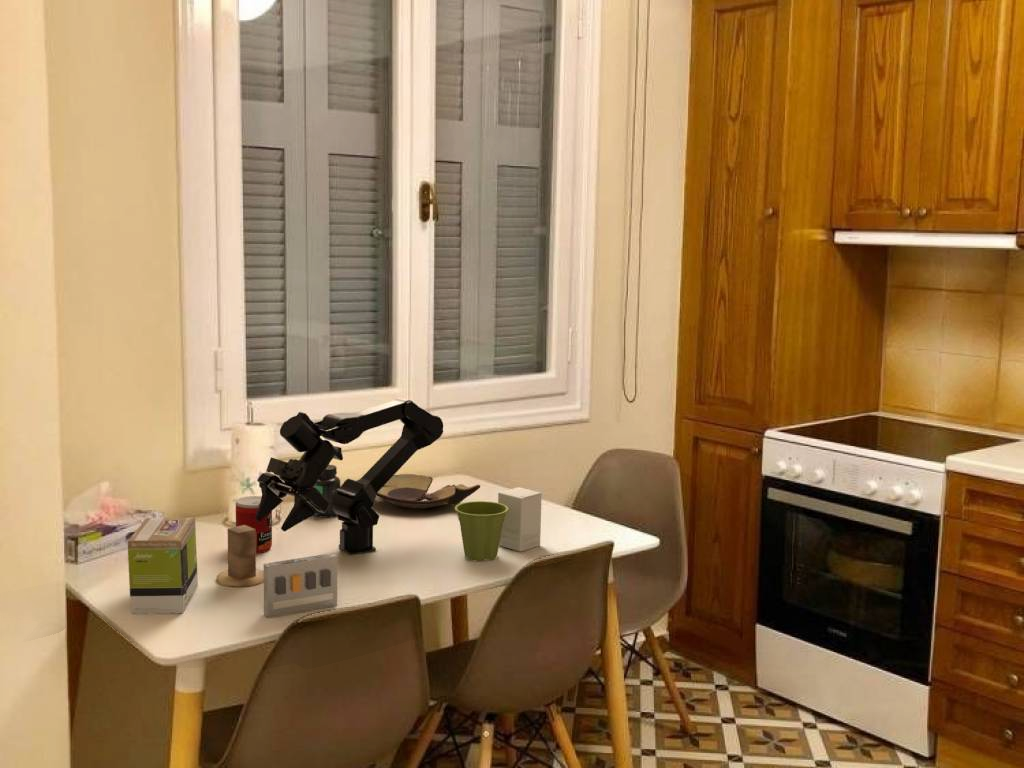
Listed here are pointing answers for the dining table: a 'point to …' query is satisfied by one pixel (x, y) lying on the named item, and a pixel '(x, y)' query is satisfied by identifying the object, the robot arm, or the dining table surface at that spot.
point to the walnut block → (241, 552)
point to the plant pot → (481, 528)
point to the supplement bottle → (328, 488)
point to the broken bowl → (422, 492)
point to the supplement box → (521, 519)
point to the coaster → (230, 581)
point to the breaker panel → (300, 585)
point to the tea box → (162, 565)
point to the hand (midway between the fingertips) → (269, 525)
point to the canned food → (255, 521)
